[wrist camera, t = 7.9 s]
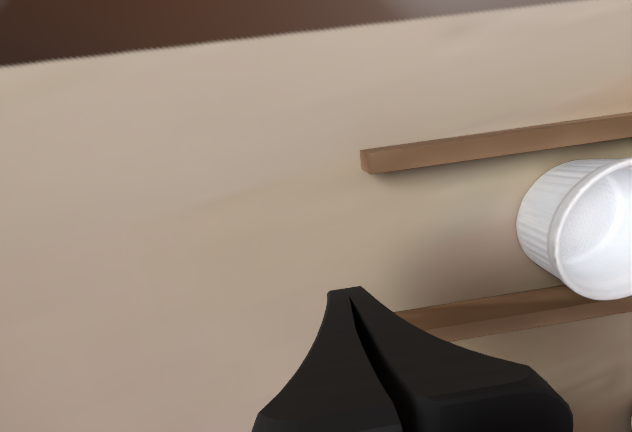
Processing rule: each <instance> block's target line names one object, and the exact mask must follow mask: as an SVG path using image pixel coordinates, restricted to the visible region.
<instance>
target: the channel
mask: <svg viewBox="0 0 632 432" xmlns="http://www.w3.org/2000/svg"><path fill="white" fill-rule="evenodd" d="M627 137H632V112H630V113H623V114H616V115H609V116H602V117H595V118H587V119H580V120H573V121H566V122H559V123H552V124H545V125H537V126H530V127H523V128H516V129H509V130H502V131H494V132H487V133H480V134H473V135H466V136H459V137H452V138H444V139H437V140H430V141H423V142H416V143H409V144H401V145H394V146H387V147H380V148H373V149H366V150H360V157H361V168H362V169H363V170H364V171H366V172H368V173H370V174H376V173H383V172H390V171H397V170H404V169H411V168H418V167H425V166H432V165H439V164H446V163H453V162H460V161H467V160H474V159H481V158H488V157H495V156H502V155H509V154H516V153H523V152H530V151H537V150H544V149H551V148H557V147H564V146H571V145H578V144H585V143H592V142H599V141H606V140H613V139H620V138H627ZM625 312H632V295H631V296H628V297H625V298H620V299H615V300H594V299H590V298H587V297H584V296H581V295H579V294H577V293H576V292H574V291H573V290H571V289H570V288H569V287H568V286H566V285H562V286H556V287H550V288H544V289H537V290H531V291H525V292H519V293H512V294H506V295H500V296H494V297H487V298H481V299H475V300H469V301H462V302H456V303H450V304H444V305H437V306H431V307H425V308H419V309H412V310H406V311H400V312H394V313H395V314H396V315H398V316H400V317H401V318H403V319H404V320H406V321H407V322H409V323H411V324H412V325H414V326H416V327H418V328H420V329H422V330H424V331H425V332H427V333H429V334H431V335H434V336H436V337H438V338H440V339H443V340H445V341H447V342H450V341H456V340H462V339H468V338H474V337H480V336H486V335H492V334H498V333H504V332H510V331H516V330H522V329H528V328H534V327H541V326H547V325H553V324H559V323H565V322H571V321H577V320H583V319H589V318H595V317H601V316H607V315H613V314H619V313H625Z"/></svg>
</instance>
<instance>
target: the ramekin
mask: <svg viewBox="0 0 632 432" xmlns="http://www.w3.org/2000/svg"><path fill="white" fill-rule="evenodd" d="M516 229H517V235H518V240H519V242H520V245H521V247H522V249H523V251H524V252H525V254H526V255H527V256H528V257H529V258H530V259H531V260H532V261H533V262H535V263H536V264H537V265H539V266H540V267H542V268H543V269H545V270H547V271H548V272H550V273H551V274H553V275H554V276H556V277H557V278H559V279H560V280H561V281H562V282H563V283H564V284H565V285H566V286H568V287H569V288H570V289H571V290H573V291H574V292H576V293H577V294H579V295H581V296H584V297H587V298H590V299H594V300H615V299H620V298H625V297H628V296H631V295H632V157H631V158H625V159H580V160H575V161H569V162H566V163H563V164H560V165H558V166H556V167H554V168H552V169H551V170H549V171H548V172H546V173H545V174H544V175H542V176H541V177H540V178H539V179H538V180H537V181H536V182H535V183H534V184H533V185H532V186H531V187H530V189H529V190H528V192H527V193H526V195H525V196H524V198H523V200H522V203H521V205H520V208H519V211H518V215H517V221H516Z"/></svg>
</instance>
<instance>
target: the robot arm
mask: <svg viewBox="0 0 632 432" xmlns="http://www.w3.org/2000/svg"><path fill="white" fill-rule="evenodd" d="M252 432H573V415H572V412H571V410H570V407H569V405H568V404H567V403H566V402H565V401H564V399H563V398H562V397H561V396H560V395H559V394H558V393H557V392H556V391H555V390H554V389H553V388H552V387H551V386H550V385H549V384H548V383H547V382H546V381H545V380H544V379H543V378H542V377H541V376H540V375H538V374H537V373H536V372H535V371H534V370H533V369H532V368H531V367H529V366H527V365H523V364H519V363H515V362H511V361H507V360H503V359H498V358H494V357H491V356H487V355H484V354H481V353H478V352H475V351H471V350H468V349H466V348H463V347H460V346H457V345H455V344H452V343H450V342H447V341H445V340H443V339H440V338H438V337H436V336H434V335H431V334H429V333H427V332H425V331H424V330H422V329H420V328H418V327H416V326H414V325H412V324H411V323H409V322H407V321H406V320H404V319H403V318H401V317H400V316H398V315H396V314H395V313H394V312H392V311H391V310H389V309H388V308H387V307H385V306H384V305H383V304H382V303H380V302H379V301H378V300H377V299H375V298H374V297H373V296H372V295H371V294H369V293H368V292H367V291H366V290H365V289H364V288H362V287H361V286H358V287H351V288H345V289H339V290H332V291H329V292H328V293H327V306H326V311H325V314H324V318H323V321H322V324H321V327H320V329H319V332H318V334H317V337H316V339H315V341H314V343H313V345H312V347H311V349H310V351H309V353H308V354H307V356H306V358H305V359H304V361H303V362H302V364H301V366H300V367H299V369H298V370H297V371H296V373H295V374H294V375H293V377H292V378H291V379H290V380H289V382H288V383H287V384H286V385H285V387H284V388H283V389H282V390H281V391H280V393H279V394H278V395H277V396H276V397H275V398H274V399H273V400H272V401H270V402H269V403H268V404H267V405H266V406H265V407H264V408H263V409H262V410H261V411H260V412H259V413H258V415H257V418H256V420H255V423H254V426H253V429H252Z"/></svg>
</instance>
